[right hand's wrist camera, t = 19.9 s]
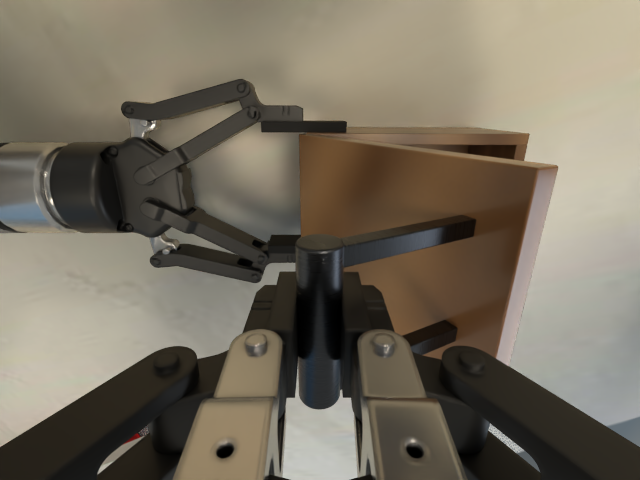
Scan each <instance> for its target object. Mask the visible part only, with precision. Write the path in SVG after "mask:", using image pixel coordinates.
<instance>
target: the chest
mask: <svg viewBox="0 0 640 480" xmlns="http://www.w3.org/2000/svg"><path fill="white" fill-rule="evenodd" d="M306 134H318V135H326V136H333V137H341V138H349V139H357V140H364V141H372V142H380V143H388V144H395V145H403V146H411V147H419V148H426V149H434V150H442V151H450V152H457V153H465V154H473V155H480V156H488V157H496V158H504V159H511V160H519V161H524V158H525V153H526V148H527V144H528V139H529V134H527V133H518V132H510V131H501V130H492V129H483V128H428V127H347V131H346V132H307V133H306Z"/></svg>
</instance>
